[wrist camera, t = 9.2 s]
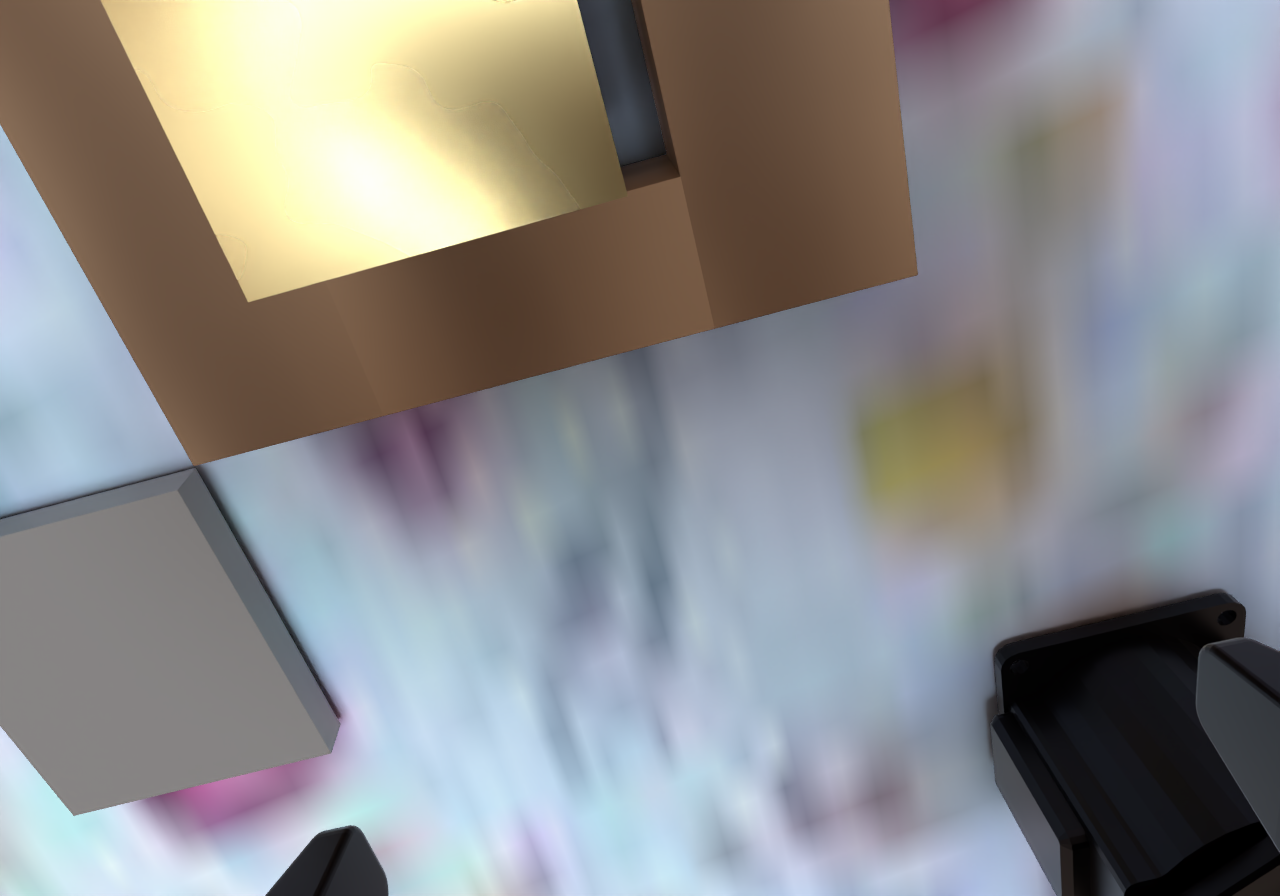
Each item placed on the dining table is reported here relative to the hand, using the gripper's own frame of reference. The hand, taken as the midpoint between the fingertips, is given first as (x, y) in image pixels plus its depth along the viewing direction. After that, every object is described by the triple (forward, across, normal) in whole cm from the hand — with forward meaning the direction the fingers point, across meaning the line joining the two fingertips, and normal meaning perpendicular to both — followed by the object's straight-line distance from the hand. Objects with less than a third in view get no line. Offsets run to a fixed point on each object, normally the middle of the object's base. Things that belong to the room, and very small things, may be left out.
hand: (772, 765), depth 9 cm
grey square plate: (+11, +14, +3) cm, 18 cm away
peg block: (+11, +2, -8) cm, 14 cm away
